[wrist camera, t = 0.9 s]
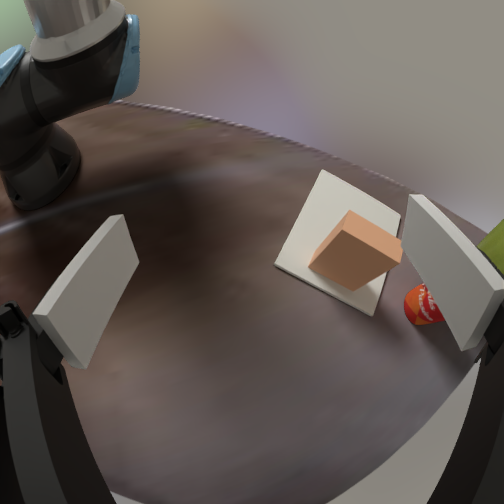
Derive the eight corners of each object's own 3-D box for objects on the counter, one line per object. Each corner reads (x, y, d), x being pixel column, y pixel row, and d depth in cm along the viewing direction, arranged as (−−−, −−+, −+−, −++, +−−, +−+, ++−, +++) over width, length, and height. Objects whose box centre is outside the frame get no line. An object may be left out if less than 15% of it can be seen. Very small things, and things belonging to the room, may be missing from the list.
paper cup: (399, 278, 38) (462, 240, 25) (434, 287, 38) (497, 255, 26) (396, 330, 35) (467, 308, 22) (433, 335, 35) (502, 316, 23)
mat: (273, 265, 36) (274, 263, 36) (320, 171, 43) (322, 169, 43) (370, 316, 35) (373, 315, 35) (398, 216, 42) (400, 215, 42)
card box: (307, 267, 36) (341, 229, 26) (315, 250, 37) (349, 209, 27) (353, 291, 36) (399, 263, 26) (359, 275, 37) (404, 242, 27)
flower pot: (494, 313, 38) (556, 289, 24) (454, 346, 35) (531, 326, 20) (469, 243, 43) (525, 205, 28) (426, 262, 40) (494, 217, 25)
